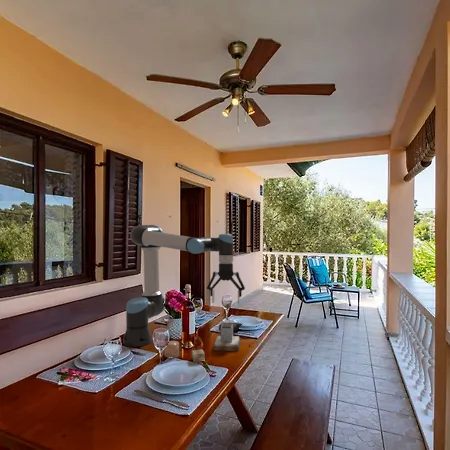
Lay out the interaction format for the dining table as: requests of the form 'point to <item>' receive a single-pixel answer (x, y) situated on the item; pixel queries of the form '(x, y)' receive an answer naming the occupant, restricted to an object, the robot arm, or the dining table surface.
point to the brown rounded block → (172, 349)
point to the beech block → (198, 355)
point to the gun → (235, 326)
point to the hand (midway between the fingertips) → (225, 302)
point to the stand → (227, 344)
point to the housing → (227, 332)
